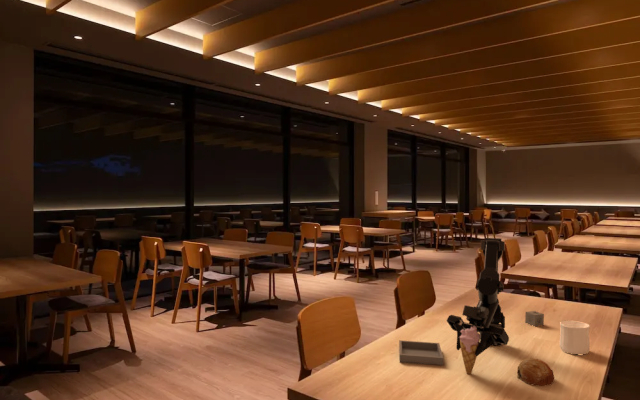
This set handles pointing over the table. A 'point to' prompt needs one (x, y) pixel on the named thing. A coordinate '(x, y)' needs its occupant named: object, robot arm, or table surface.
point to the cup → (574, 337)
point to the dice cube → (534, 318)
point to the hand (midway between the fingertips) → (466, 352)
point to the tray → (420, 352)
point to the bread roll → (535, 372)
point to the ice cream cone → (469, 347)
